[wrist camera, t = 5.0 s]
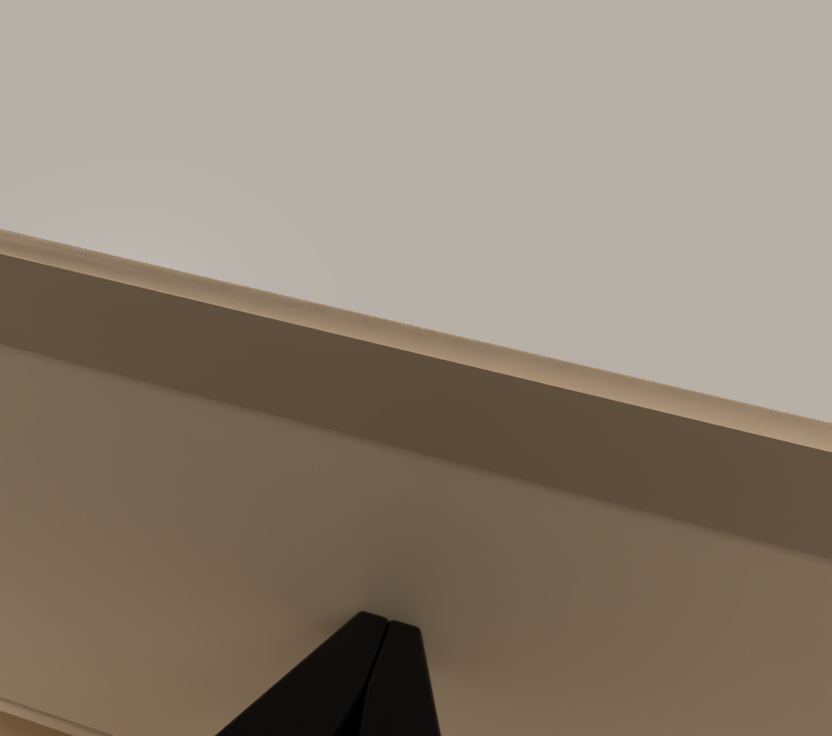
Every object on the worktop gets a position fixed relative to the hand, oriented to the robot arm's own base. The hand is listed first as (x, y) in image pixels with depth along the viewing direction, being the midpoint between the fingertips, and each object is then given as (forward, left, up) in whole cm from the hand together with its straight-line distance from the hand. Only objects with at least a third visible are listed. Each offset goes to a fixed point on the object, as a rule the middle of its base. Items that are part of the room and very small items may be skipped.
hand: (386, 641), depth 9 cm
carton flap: (0, 0, -1) cm, 1 cm away
